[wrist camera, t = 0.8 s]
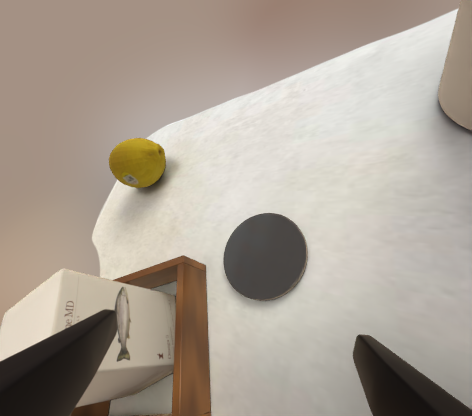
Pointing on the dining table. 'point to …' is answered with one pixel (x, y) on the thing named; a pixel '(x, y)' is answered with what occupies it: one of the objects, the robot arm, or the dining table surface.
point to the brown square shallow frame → (178, 337)
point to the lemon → (137, 162)
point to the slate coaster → (265, 257)
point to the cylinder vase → (459, 70)
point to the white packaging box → (87, 304)
